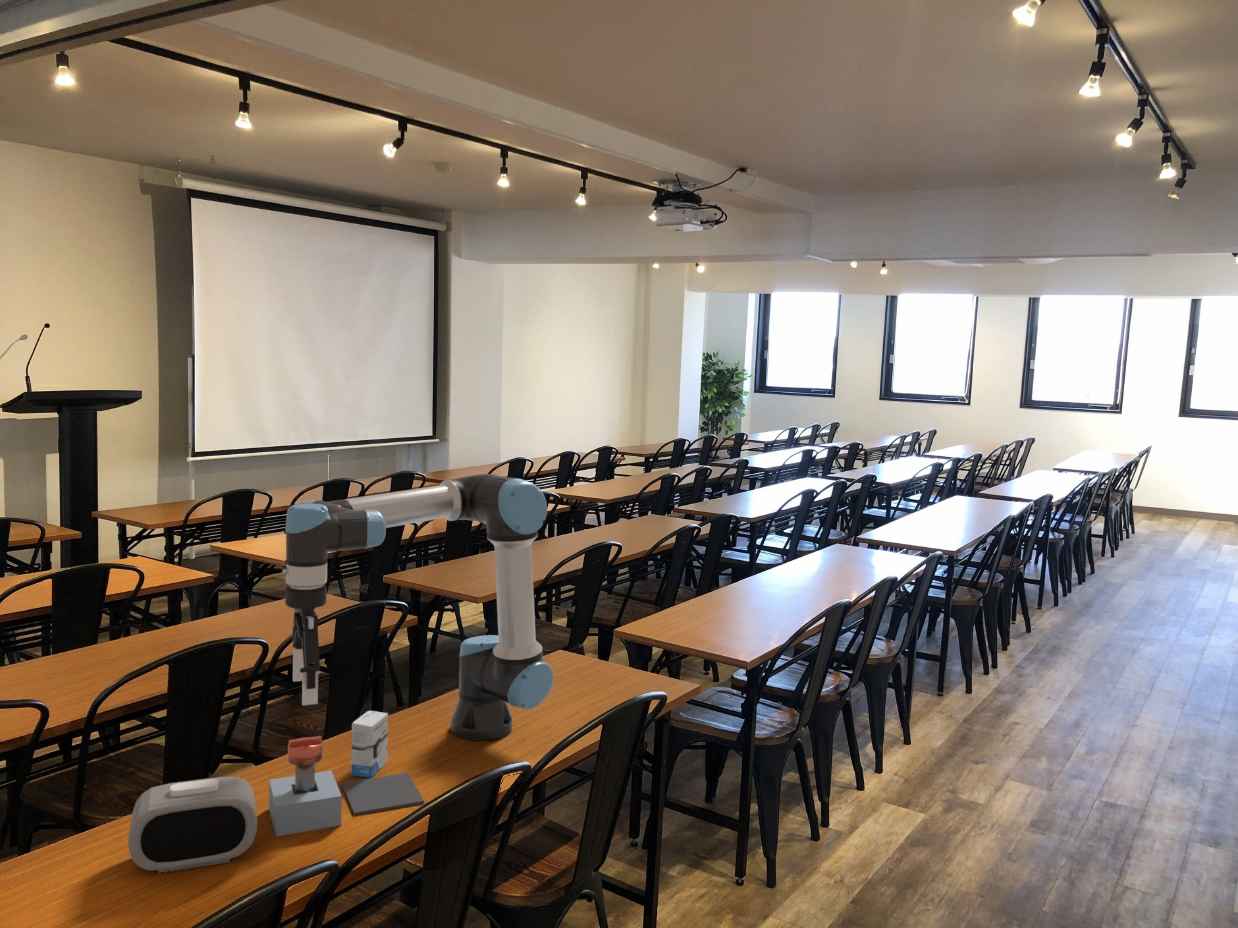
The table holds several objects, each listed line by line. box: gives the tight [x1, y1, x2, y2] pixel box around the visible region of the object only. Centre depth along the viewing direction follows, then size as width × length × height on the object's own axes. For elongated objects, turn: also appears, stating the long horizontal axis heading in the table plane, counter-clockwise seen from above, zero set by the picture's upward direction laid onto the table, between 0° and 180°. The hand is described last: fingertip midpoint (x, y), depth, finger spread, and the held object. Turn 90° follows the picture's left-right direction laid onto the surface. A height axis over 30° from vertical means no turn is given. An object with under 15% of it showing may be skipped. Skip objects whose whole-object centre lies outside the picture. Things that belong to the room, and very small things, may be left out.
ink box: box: [350, 710, 389, 779], centre depth 205 cm, size 8×5×12 cm, turn 168°
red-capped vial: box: [287, 735, 323, 795], centre depth 182 cm, size 6×6×16 cm
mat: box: [341, 772, 425, 816], centre depth 194 cm, size 14×14×1 cm
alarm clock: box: [127, 776, 258, 874], centre depth 167 cm, size 21×10×13 cm, turn 114°
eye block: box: [268, 770, 343, 838], centre depth 183 cm, size 12×12×6 cm
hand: (304, 691), depth 180 cm, fingers open, 13 cm apart
